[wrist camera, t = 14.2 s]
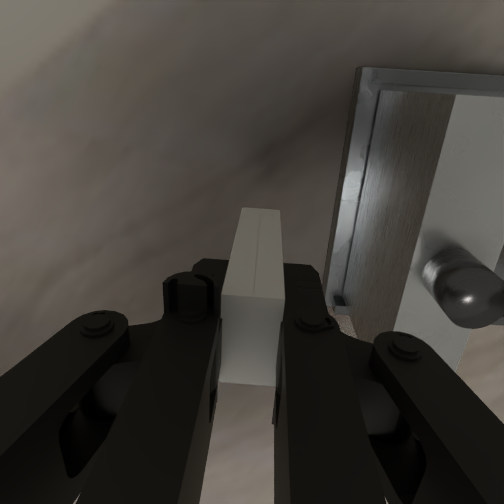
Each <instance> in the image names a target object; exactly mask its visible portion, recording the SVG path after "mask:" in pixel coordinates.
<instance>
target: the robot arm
mask: <svg viewBox="0 0 504 504" xmlns="http://www.w3.org/2000/svg"><path fill="white" fill-rule="evenodd" d="M163 299H164V314H163V316H162V319H161V320H159V321H156V322H152V323H147V324H140V325H133V326H129V325H128V319H127V318H126V317H125V316H124V315H123V314H121V313H118V312H116V311H108V310H103V311H94V312H90V313H87V314H84V315H82V316H80V317H78V318H76V319H75V320H73V321H72V322H70V323H69V324H68V325H66V326H65V327H64V328H63V329H61V330H60V331H59V332H57V333H56V334H55V335H54V336H52V337H51V338H50V339H49V340H47V341H46V342H45V343H43V344H42V345H41V346H40V347H38V348H37V349H36V350H34V351H33V352H32V353H31V354H29V355H28V356H27V357H26V358H24V359H23V360H22V361H20V362H19V363H18V364H17V365H15V366H14V367H13V368H11V369H10V370H9V371H8V372H6V373H5V374H4V375H2V376H1V377H0V504H73V503H74V501H75V500H76V498H77V497H78V496H79V494H80V496H79V498H78V500H77V502H76V504H199V502H200V496H201V490H202V484H203V478H204V472H205V467H206V461H207V455H208V449H209V443H210V437H211V432H212V426H213V420H214V414H215V408H216V402H217V386H218V378H219V382H224V383H237V384H249V385H261V386H274V387H275V385H276V391H275V400H274V409H273V418H272V424H274V504H386V500H387V502H388V504H504V424H503V423H502V422H501V421H500V420H499V419H498V418H497V416H496V415H495V414H494V413H493V412H492V411H491V410H490V409H489V408H488V407H487V406H486V405H485V404H484V403H483V402H482V401H481V399H480V398H479V397H478V396H477V395H476V394H475V393H474V392H473V391H472V390H471V389H470V388H469V387H468V386H467V385H466V383H465V382H464V381H463V380H462V379H461V378H460V377H459V376H458V375H457V374H456V373H455V372H454V371H453V370H452V369H451V368H450V366H449V365H448V364H447V363H446V362H445V361H444V360H443V359H442V358H441V357H440V356H439V355H438V354H437V353H436V352H435V351H434V349H433V348H432V347H431V346H429V345H428V344H427V343H426V342H424V341H423V340H421V339H419V338H417V337H415V336H413V335H411V334H408V333H404V332H400V331H387V332H382V333H380V334H378V335H377V336H376V337H375V338H374V343H369V342H366V341H362V340H359V339H356V338H353V337H350V336H348V335H346V334H344V333H342V332H341V331H340V328H339V325H338V323H337V321H336V320H335V319H334V318H333V317H332V316H330V315H329V314H328V310H327V306H326V302H325V297H324V293H323V291H322V285H321V281H320V277H319V273H318V272H317V271H316V270H315V269H314V268H313V267H312V266H311V265H303V264H289V263H283V254H282V236H281V219H280V210H275V209H261V208H247V207H242V210H241V214H240V219H239V223H238V227H237V231H236V235H235V239H234V243H233V247H232V252H231V256H230V260H220V259H206V258H203V259H202V260H200V261H199V262H197V263H196V264H195V265H194V266H193V268H192V271H191V272H182V273H177V274H174V275H172V276H170V277H168V278H167V279H166V280H165V281H164V282H163ZM384 496H385V497H384ZM385 498H386V500H385Z"/></svg>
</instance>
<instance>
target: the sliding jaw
mask: <svg viewBox="0 0 504 504" xmlns="http://www.w3.org/2000/svg"><path fill="white" fill-rule="evenodd" d="M503 244H504V97H488V96H472V95H457V94H439V93H421V92H404V91H386V90H381V92H380V98H379V103H378V108H377V114H376V119H375V124H374V130H373V135H372V141H371V146H370V151H369V157H368V162H367V167H366V173H365V178H364V183H363V189H362V194H361V199H360V205H359V210H358V216H357V221H356V226H355V232H354V237H353V242H352V248H351V253H350V258H349V264H348V269H347V274H346V280H345V285H344V291H343V299H344V302H345V305H346V308H347V310H348V313H349V316H350V319H351V321H352V324H353V327H354V330H355V333H356V335H357V338H358V339H359V340H362V341H366V342H369V343H374V338H375V337H376V336H377V335H378V334H380V333H382V332H387V331H400V332H404V333H408V334H411V335H413V336H415V337H417V338H419V339H421V340H423V341H424V342H426V343H427V344H428V345H429V346H431V347H432V348H433V349H434V351H435V352H436V353H437V354H438V355H439V356H440V357H441V358H442V359H443V360H444V361H445V362H446V363H447V364H448V365H449V366H450V368H451V369H452V370H453V371H454V372H455V373H456V370H457V367H458V365H459V362H460V359H461V357H462V354H463V351H464V349H465V346H466V343H467V341H468V338H469V335H470V333H471V330H472V329H476V328H482V327H485V326H488V325H490V324H492V323H494V322H496V321H497V320H498V319H500V318H501V317H502V316H503V315H504V280H502V279H501V278H500V277H499V276H498V275H496V274H495V273H494V272H493V271H494V269H495V266H496V263H497V261H498V258H499V255H500V253H501V250H502V247H503Z"/></svg>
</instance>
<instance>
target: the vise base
mask: <svg viewBox="0 0 504 504" xmlns="http://www.w3.org/2000/svg"><path fill="white" fill-rule="evenodd" d="M381 90H386V91H404V92H421V93H439V94H457V95H472V96H488V97H504V76H502V75H486V74H470V73H454V72H438V71H422V70H406V69H390V68H374V67H359V68H356V73H355V80H354V86H353V92H352V99H351V105H350V111H349V118H348V124H347V130H346V137H345V143H344V149H343V156H342V162H341V168H340V175H339V181H338V188H337V194H336V200H335V207H334V213H333V219H332V226H331V232H330V238H329V245H328V251H327V257H326V264H325V270H324V277H323V283H322V291H323V293H324V297H325V302H326V306H332V308H333V311H334V314H344V315H349V313H348V310H347V308H346V305H345V302H344V299H343V291H344V285H345V280H346V274H347V269H348V264H349V258H350V253H351V248H352V242H353V237H354V232H355V226H356V221H357V216H358V210H359V205H360V199H361V194H362V189H363V183H364V178H365V173H366V167H367V162H368V157H369V151H370V146H371V141H372V135H373V130H374V124H375V119H376V114H377V108H378V103H379V98H380V92H381ZM493 272H494V273H495V274H496V275H498V276H499V277H500V278H501V279H502V280H504V244H503V247H502V250H501V253H500V255H499V258H498V261H497V263H496V266H495V269H494V271H493ZM492 325H504V315H503V316H502V317H501V318H500V319H498V320H497V321H496V322H494V323H492Z"/></svg>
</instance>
